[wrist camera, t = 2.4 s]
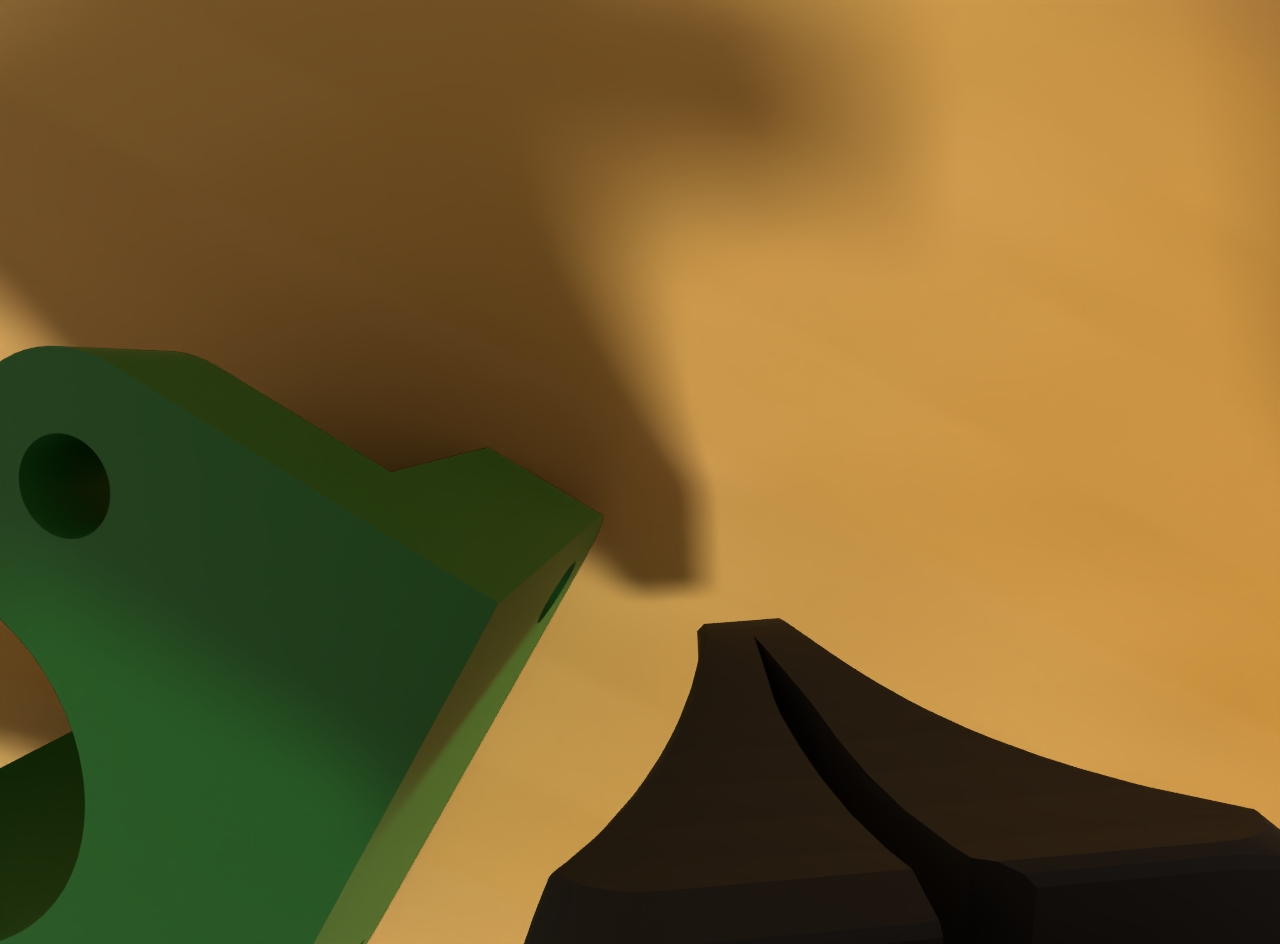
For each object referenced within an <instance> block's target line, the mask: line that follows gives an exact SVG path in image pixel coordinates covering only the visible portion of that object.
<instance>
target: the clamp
mask: <svg viewBox="0 0 1280 944" xmlns="http://www.w3.org/2000/svg"><path fill="white" fill-rule="evenodd" d="M602 522H603V515H601V514H600V513H598V512H596V511H595V510H593V509H591V508H590V507H588V506H586V505H585V504H583V503H581V502H580V501H578V500H576V499H575V498H573V497H571V496H570V495H568V494H566V493H565V492H563V491H561V490H559V489H558V488H556V487H554V486H553V485H551V484H549V483H548V482H546V481H544V480H543V479H541V478H539V477H538V476H536V475H534V474H533V473H531V472H529V471H528V470H526V469H524V468H523V467H521V466H519V465H518V464H516V463H514V462H513V461H511V460H509V459H508V458H506V457H504V456H503V455H501V454H499V453H498V452H496V451H494V450H493V449H491V448H483V449H480V450H476V451H472V452H468V453H464V454H460V455H456V456H452V457H448V458H444V459H441V460H437V461H433V462H429V463H425V464H421V465H417V466H413V467H409V468H405V469H402V470H398V471H394V472H390V471H388V470H387V469H385V468H383V467H382V466H380V465H378V464H377V463H375V462H373V461H372V460H370V459H369V458H367V457H365V456H364V455H362V454H360V453H359V452H357V451H355V450H354V449H352V448H350V447H349V446H347V445H346V444H344V443H342V442H341V441H339V440H337V439H336V438H334V437H332V436H331V435H329V434H327V433H326V432H324V431H323V430H321V429H319V428H318V427H316V426H314V425H313V424H311V423H309V422H308V421H306V420H305V419H303V418H301V417H300V416H298V415H296V414H295V413H293V412H291V411H290V410H288V409H286V408H285V407H283V406H282V405H280V404H278V403H277V402H275V401H273V400H272V399H270V398H268V397H267V396H265V395H264V394H262V393H260V392H259V391H257V390H255V389H254V388H252V387H250V386H249V385H247V384H245V383H244V382H242V381H241V380H239V379H237V378H236V377H234V376H232V375H231V374H229V373H227V372H226V371H224V370H222V369H221V368H219V367H218V366H216V365H214V364H212V363H210V362H208V361H207V360H204V359H202V358H199V357H197V356H194V355H190V354H187V353H182V352H176V351H156V350H133V349H110V348H87V347H64V346H42V347H35V348H30V349H26V350H23V351H20V352H17V353H15V354H13V355H11V356H9V357H7V358H5V359H3V360H2V361H0V619H1V620H2V621H3V622H4V623H5V624H6V625H7V626H8V628H9V629H10V630H11V631H12V632H13V633H14V634H15V635H16V636H17V637H18V638H19V639H20V640H21V642H22V643H23V644H24V645H25V647H26V648H27V649H28V650H29V651H30V653H31V654H32V655H33V657H34V658H35V660H36V661H37V663H38V664H39V665H40V667H41V668H42V670H43V671H44V673H45V674H46V676H47V678H48V680H49V681H50V683H51V685H52V687H53V688H54V690H55V692H56V694H57V696H58V698H59V700H60V702H61V704H62V706H63V709H64V711H65V713H66V715H67V718H68V721H69V724H70V726H71V729H72V732H70V733H68V734H66V735H64V736H62V737H60V738H58V739H56V740H54V741H52V742H50V743H48V744H46V745H44V746H43V747H41V748H39V749H37V750H35V751H33V752H31V753H29V754H27V755H25V756H23V757H21V758H19V759H17V760H15V761H13V762H11V763H9V764H7V765H5V766H4V767H2V768H0V944H367V943H368V941H369V939H370V938H371V936H372V934H373V933H374V931H375V929H376V928H377V926H378V924H379V923H380V921H381V919H382V917H383V916H384V914H385V912H386V910H387V909H388V907H389V905H390V903H391V902H392V900H393V898H394V896H395V894H396V893H397V891H398V889H399V887H400V886H401V884H402V882H403V880H404V879H405V877H406V875H407V873H408V871H409V870H410V868H411V866H412V864H413V863H414V861H415V859H416V857H417V856H418V854H419V852H420V850H421V848H422V847H423V845H424V843H425V841H426V840H427V838H428V836H429V834H430V833H431V831H432V829H433V827H434V825H435V824H436V822H437V820H438V818H439V817H440V815H441V813H442V811H443V810H444V808H445V806H446V804H447V802H448V801H449V799H450V797H451V795H452V794H453V792H454V790H455V788H456V786H457V785H458V783H459V781H460V779H461V778H462V776H463V774H464V772H465V771H466V769H467V767H468V765H469V763H470V762H471V760H472V758H473V756H474V755H475V753H476V751H477V749H478V748H479V746H480V744H481V742H482V740H483V739H484V737H485V735H486V733H487V732H488V730H489V728H490V726H491V725H492V723H493V721H494V719H495V717H496V716H497V714H498V712H499V710H500V709H501V707H502V705H503V703H504V701H505V700H506V698H507V696H508V694H509V693H510V691H511V689H512V687H513V686H514V684H515V682H516V680H517V678H518V677H519V675H520V673H521V671H522V670H523V668H524V666H525V664H526V663H527V661H528V659H529V657H530V655H531V654H532V652H533V650H534V648H535V647H536V645H537V643H538V641H539V640H540V638H541V636H542V634H543V632H544V631H545V629H546V627H547V625H548V624H549V622H550V620H551V618H552V617H553V615H554V613H555V611H556V609H557V608H558V606H559V604H560V602H561V601H562V599H563V597H564V595H565V593H566V592H567V590H568V588H569V586H570V585H571V583H572V581H573V579H574V578H575V576H576V574H577V572H578V570H579V569H580V567H581V565H582V563H583V562H584V560H585V558H586V556H587V554H588V552H589V550H590V548H591V547H592V545H593V543H594V541H595V538H596V536H597V534H598V532H599V530H600V527H601V525H602Z"/></svg>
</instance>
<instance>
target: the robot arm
mask: <svg viewBox="0 0 1280 944" xmlns="http://www.w3.org/2000/svg"><path fill="white" fill-rule="evenodd" d="M697 636H698V658H699V659H698V664H697V668H696V672H695V676H694V680H693V684H692V687H691V690H690V693H689V696H688V698H687V701H686V703H685V706H684V709H683V711H682V714H681V716H680V719H679V721H678V723H677V725H676V727H675V730H674V732H673V734H672V736H671V738H670V740H669V741H668V743H667V745H666V747H665V749H664V750H663V752H662V754H661V756H660V757H659V759H658V760H657V762H656V763H655V765H654V766H653V768H652V769H651V771H650V772H649V774H648V776H647V777H646V779H645V780H644V782H643V783H642V784H641V786H640V787H639V788H638V790H637V791H636V792H635V794H634V795H633V796H632V797H631V799H630V800H629V801H628V802H627V803H626V804H625V805H624V807H623V808H622V809H621V810H620V811H619V812H618V813H617V814H616V816H615V817H614V818H613V819H612V820H611V821H610V822H609V824H608V825H607V826H606V827H605V828H604V829H603V830H602V831H601V832H600V833H599V834H598V835H597V836H596V837H595V838H594V839H593V840H592V841H591V842H589V843H588V844H587V845H586V846H585V847H584V848H582V849H581V850H580V851H579V852H578V853H577V854H575V855H574V856H573V857H572V858H571V859H570V860H568V861H567V862H566V863H565V864H563V865H562V866H561V867H559V868H558V869H557V870H556V871H554V872H553V873H552V874H551V875H550V877H549V879H548V881H547V884H546V886H545V888H544V891H543V893H542V896H541V899H540V901H539V904H538V906H537V909H536V911H535V914H534V916H533V919H532V922H531V925H530V928H529V931H528V934H527V937H526V939H525V942H524V944H1280V829H1278V828H1277V827H1276V826H1275V825H1274V824H1272V823H1271V822H1270V821H1269V820H1267V819H1266V818H1265V817H1264V816H1262V815H1261V814H1260V813H1259V812H1257V811H1256V810H1254V809H1250V808H1245V807H1241V806H1236V805H1231V804H1226V803H1222V802H1217V801H1212V800H1207V799H1203V798H1198V797H1193V796H1188V795H1184V794H1179V793H1174V792H1169V791H1165V790H1160V789H1155V788H1151V787H1146V786H1142V785H1138V784H1134V783H1130V782H1127V781H1123V780H1119V779H1116V778H1112V777H1109V776H1105V775H1101V774H1098V773H1094V772H1091V771H1087V770H1083V769H1080V768H1076V767H1073V766H1070V765H1067V764H1064V763H1060V762H1057V761H1054V760H1051V759H1048V758H1045V757H1042V756H1039V755H1036V754H1033V753H1030V752H1028V751H1025V750H1022V749H1019V748H1017V747H1014V746H1011V745H1008V744H1006V743H1003V742H1000V741H997V740H995V739H992V738H990V737H987V736H985V735H982V734H980V733H977V732H975V731H972V730H970V729H968V728H965V727H963V726H961V725H959V724H957V723H955V722H952V721H950V720H948V719H946V718H944V717H942V716H939V715H937V714H935V713H933V712H931V711H929V710H926V709H924V708H922V707H921V706H919V705H917V704H915V703H913V702H911V701H909V700H907V699H905V698H903V697H902V696H900V695H898V694H896V693H895V692H893V691H891V690H889V689H887V688H886V687H884V686H882V685H880V684H879V683H877V682H875V681H874V680H872V679H870V678H869V677H867V676H865V675H864V674H862V673H860V672H859V671H857V670H856V669H854V668H853V667H851V666H849V665H848V664H846V663H845V662H843V661H842V660H840V659H839V658H837V657H836V656H834V655H833V654H831V653H830V652H828V651H827V650H825V649H824V648H823V647H821V646H820V645H818V644H817V643H815V642H814V641H813V640H811V639H810V638H808V637H807V636H805V635H804V634H803V633H801V632H800V631H798V630H797V629H795V628H794V627H792V626H791V625H789V624H788V623H786V622H785V621H783V620H781V619H780V618H775V619H763V620H750V621H737V622H724V623H712V624H704V625H703V626H702V627H701V628H700V629H699V630H698V631H697Z"/></svg>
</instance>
